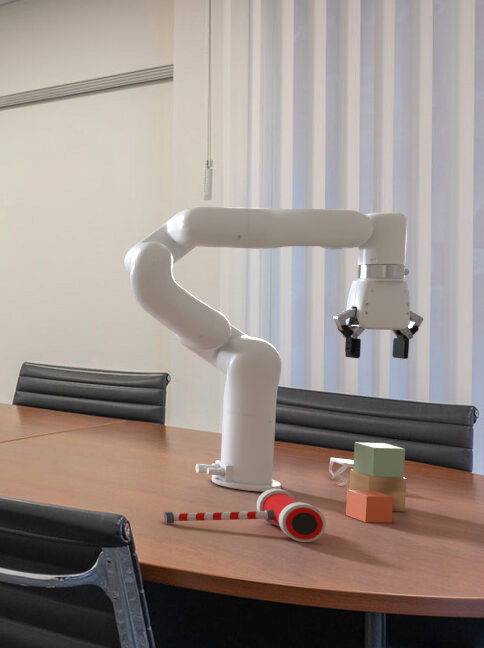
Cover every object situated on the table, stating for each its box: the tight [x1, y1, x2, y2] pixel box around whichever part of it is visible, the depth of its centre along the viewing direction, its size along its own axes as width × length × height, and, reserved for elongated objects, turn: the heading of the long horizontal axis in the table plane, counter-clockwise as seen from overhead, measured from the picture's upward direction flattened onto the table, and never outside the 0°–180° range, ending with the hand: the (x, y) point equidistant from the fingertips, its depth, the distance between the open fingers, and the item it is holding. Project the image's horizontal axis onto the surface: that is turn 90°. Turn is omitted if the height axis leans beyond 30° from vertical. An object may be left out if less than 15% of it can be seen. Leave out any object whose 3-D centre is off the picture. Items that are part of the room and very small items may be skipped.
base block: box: [348, 469, 407, 512], centre depth 165 cm, size 6×6×6 cm
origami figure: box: [328, 457, 354, 487], centre depth 181 cm, size 12×8×5 cm
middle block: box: [352, 441, 406, 478], centre depth 164 cm, size 6×6×6 cm
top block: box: [345, 489, 393, 524], centre depth 156 cm, size 5×5×5 cm
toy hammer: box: [163, 488, 327, 543], centre depth 148 cm, size 23×12×6 cm, turn 77°
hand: (376, 357), depth 172 cm, fingers open, 9 cm apart
